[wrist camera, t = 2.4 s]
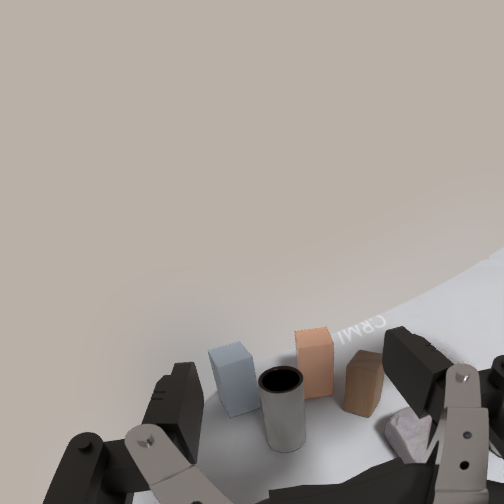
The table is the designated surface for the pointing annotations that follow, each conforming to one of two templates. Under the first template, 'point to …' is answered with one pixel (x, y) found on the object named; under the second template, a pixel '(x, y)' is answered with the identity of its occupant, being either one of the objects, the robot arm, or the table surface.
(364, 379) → the wooden block
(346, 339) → the table surface
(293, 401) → the planter
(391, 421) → the stone block
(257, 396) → the slate-blue block
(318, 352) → the terracotta block
